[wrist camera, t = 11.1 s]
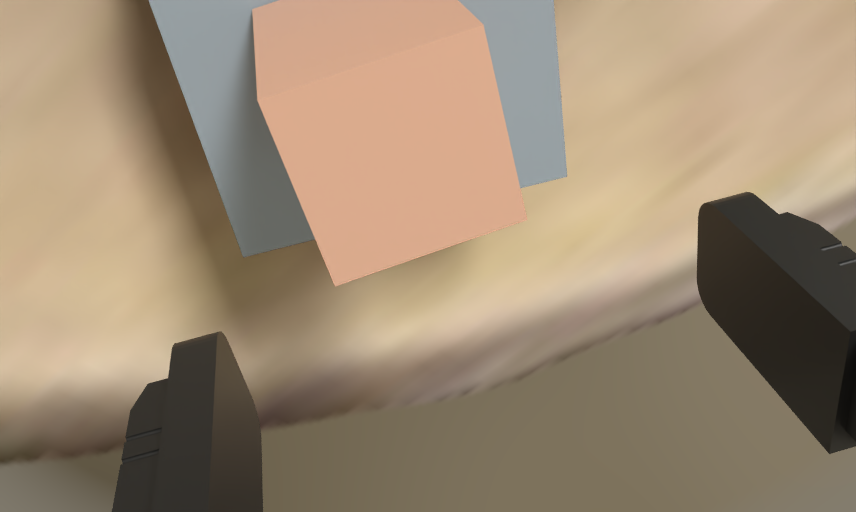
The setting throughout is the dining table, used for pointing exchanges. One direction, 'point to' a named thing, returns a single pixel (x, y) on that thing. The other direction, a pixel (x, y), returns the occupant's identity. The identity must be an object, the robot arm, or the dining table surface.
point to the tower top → (252, 140)
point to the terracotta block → (386, 126)
